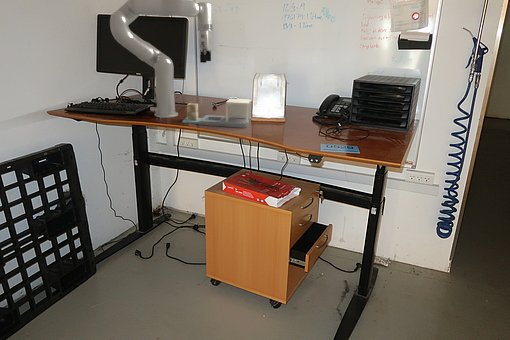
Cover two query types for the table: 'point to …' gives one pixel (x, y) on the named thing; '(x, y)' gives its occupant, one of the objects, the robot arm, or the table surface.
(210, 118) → the puzzle board
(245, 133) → the table surface
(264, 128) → the table surface
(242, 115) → the sliding cover
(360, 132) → the table surface
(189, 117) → the maple block
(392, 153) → the table surface
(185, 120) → the teal mat
